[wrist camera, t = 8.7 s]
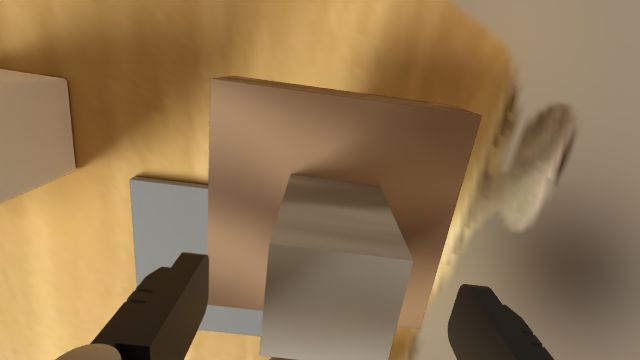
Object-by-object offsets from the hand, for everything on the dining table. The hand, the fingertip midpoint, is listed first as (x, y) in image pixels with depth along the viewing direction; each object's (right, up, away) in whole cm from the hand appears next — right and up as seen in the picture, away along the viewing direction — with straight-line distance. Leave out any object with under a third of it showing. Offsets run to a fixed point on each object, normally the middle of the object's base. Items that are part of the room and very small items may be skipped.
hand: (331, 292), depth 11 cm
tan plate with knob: (0, +3, +8) cm, 9 cm away
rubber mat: (-10, -3, +18) cm, 21 cm away
